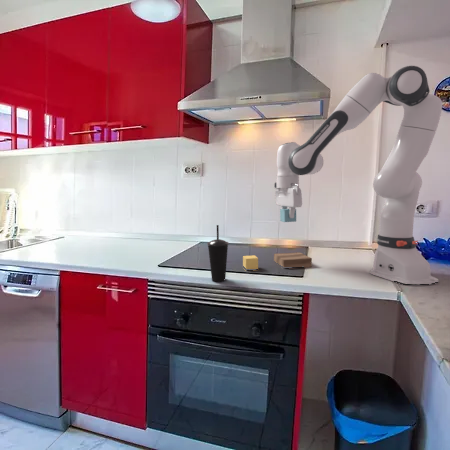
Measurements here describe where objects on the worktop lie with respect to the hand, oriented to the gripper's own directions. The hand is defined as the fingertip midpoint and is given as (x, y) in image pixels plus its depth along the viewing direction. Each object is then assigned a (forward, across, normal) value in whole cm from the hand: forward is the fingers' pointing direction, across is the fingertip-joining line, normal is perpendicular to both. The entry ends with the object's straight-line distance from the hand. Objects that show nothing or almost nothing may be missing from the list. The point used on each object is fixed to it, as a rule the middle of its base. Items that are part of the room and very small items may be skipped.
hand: (288, 217), depth 132 cm
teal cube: (+2, 0, 0) cm, 2 cm away
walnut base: (+21, +1, -2) cm, 21 cm away
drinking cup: (+20, -14, +32) cm, 41 cm away
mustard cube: (+20, -2, +17) cm, 27 cm away
